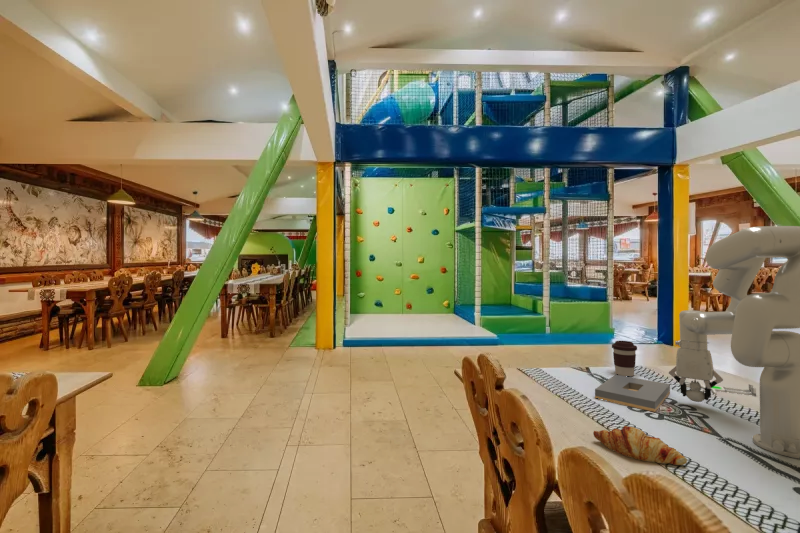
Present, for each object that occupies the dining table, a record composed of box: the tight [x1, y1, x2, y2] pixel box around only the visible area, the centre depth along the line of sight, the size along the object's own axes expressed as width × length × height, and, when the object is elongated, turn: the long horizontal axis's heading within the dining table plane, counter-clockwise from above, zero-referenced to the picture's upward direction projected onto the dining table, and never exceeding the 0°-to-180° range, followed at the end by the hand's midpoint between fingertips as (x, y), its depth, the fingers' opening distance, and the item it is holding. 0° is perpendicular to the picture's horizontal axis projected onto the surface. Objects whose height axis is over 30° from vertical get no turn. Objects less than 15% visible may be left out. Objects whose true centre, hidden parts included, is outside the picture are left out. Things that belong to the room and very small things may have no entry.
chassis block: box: [594, 374, 671, 413], centre depth 142 cm, size 26×19×4 cm
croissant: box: [593, 425, 688, 466], centre depth 99 cm, size 21×10×8 cm, turn 49°
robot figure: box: [685, 381, 757, 397], centre depth 149 cm, size 16×3×22 cm
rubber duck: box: [685, 379, 705, 403], centre depth 131 cm, size 5×7×8 cm
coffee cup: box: [611, 340, 638, 377], centre depth 170 cm, size 10×10×15 cm
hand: (695, 396), depth 131 cm, fingers closed on rubber duck, 5 cm apart
